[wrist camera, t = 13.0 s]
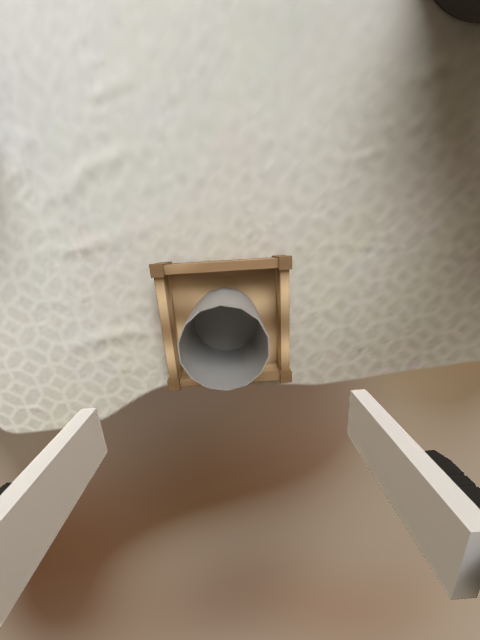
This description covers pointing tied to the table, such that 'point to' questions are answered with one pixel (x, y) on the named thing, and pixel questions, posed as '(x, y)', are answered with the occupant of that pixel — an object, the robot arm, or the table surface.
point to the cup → (224, 341)
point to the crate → (244, 274)
